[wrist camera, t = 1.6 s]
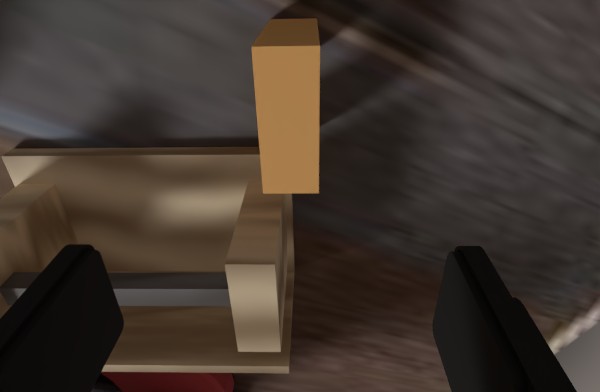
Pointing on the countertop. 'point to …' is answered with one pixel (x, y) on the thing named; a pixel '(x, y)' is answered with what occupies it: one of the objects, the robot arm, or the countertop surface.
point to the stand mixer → (171, 381)
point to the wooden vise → (162, 249)
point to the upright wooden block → (288, 104)
